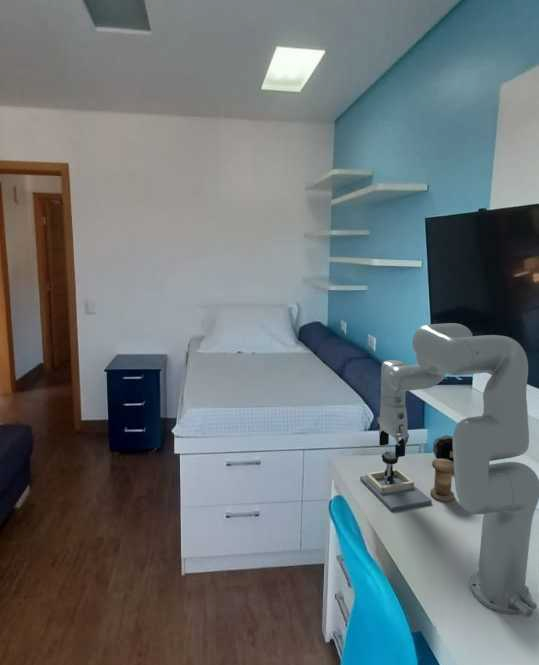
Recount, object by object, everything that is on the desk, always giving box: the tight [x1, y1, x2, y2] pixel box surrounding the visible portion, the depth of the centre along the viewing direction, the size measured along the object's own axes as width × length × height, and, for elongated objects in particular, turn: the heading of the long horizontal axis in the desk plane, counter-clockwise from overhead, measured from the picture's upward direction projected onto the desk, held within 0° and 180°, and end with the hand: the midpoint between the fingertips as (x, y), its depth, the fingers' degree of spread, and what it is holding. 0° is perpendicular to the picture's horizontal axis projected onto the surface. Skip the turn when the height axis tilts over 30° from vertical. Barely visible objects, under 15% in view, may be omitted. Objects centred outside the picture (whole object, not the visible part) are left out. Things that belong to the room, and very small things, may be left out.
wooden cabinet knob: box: [430, 458, 455, 503], centre depth 147 cm, size 7×7×11 cm
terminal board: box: [359, 468, 432, 512], centre depth 151 cm, size 20×14×3 cm
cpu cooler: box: [432, 434, 454, 462], centre depth 169 cm, size 10×6×10 cm, turn 97°
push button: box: [381, 451, 399, 485], centre depth 153 cm, size 7×5×10 cm
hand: (391, 450), depth 151 cm, fingers open, 9 cm apart
